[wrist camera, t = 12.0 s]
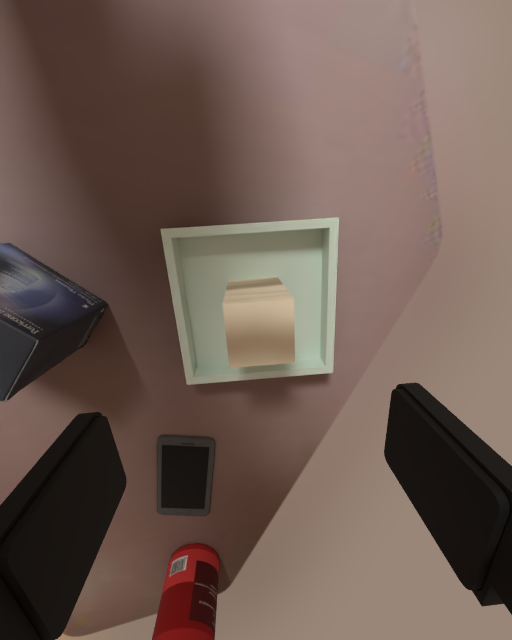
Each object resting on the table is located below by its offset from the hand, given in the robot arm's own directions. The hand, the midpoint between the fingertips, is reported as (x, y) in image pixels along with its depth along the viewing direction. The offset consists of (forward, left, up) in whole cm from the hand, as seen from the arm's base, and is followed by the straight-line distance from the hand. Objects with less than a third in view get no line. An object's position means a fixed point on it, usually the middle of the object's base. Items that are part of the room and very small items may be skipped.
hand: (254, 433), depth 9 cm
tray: (+1, +1, -21) cm, 21 cm away
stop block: (+1, +1, -20) cm, 20 cm away
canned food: (+42, -11, -21) cm, 48 cm away
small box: (-1, -20, -21) cm, 29 cm away
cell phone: (+25, -10, -21) cm, 34 cm away
